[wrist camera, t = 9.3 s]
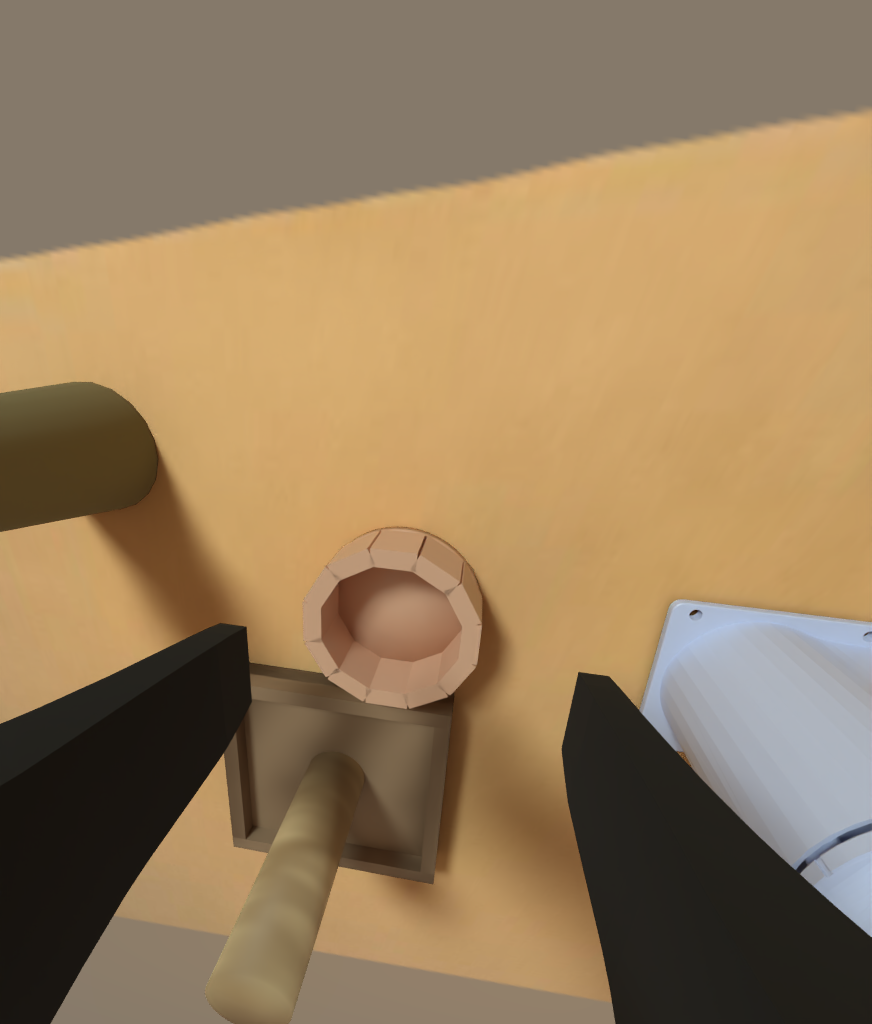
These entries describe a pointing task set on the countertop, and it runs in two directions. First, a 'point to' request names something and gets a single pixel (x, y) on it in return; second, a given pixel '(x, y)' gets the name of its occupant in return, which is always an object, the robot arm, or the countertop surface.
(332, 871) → the dowel pin
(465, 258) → the countertop surface
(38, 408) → the olive green pawn
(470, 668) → the pink round piece
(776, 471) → the countertop surface
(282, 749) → the walnut tray
